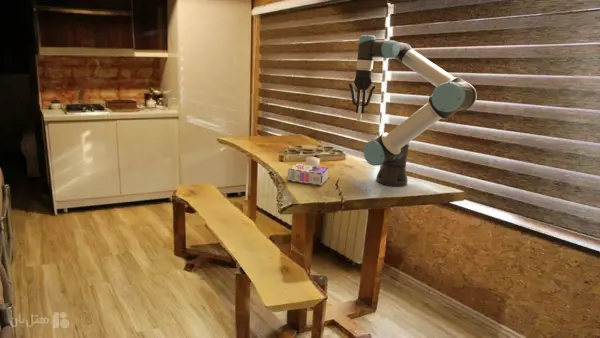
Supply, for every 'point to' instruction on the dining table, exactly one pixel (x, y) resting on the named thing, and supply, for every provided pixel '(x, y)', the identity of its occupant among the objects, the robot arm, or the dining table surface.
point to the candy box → (308, 174)
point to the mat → (306, 183)
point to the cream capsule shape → (312, 161)
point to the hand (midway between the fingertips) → (359, 120)
